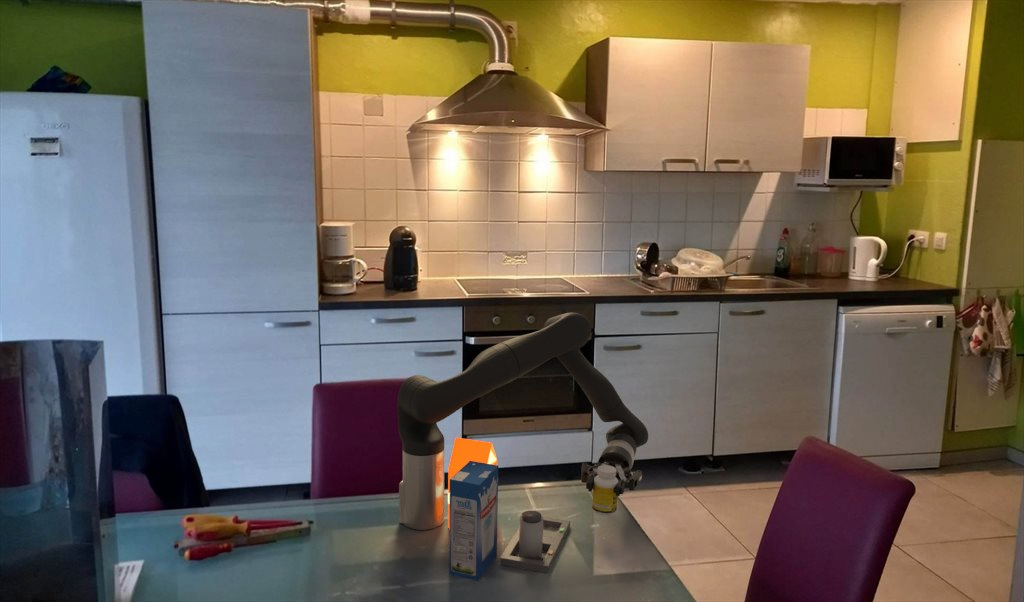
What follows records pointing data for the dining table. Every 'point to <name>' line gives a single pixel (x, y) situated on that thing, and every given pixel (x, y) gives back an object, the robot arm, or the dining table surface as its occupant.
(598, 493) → the supplement bottle
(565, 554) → the dining table surface
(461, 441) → the orange juice
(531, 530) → the seated grey plug
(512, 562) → the two-slot grey tray
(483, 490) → the milk carton
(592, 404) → the robot arm
